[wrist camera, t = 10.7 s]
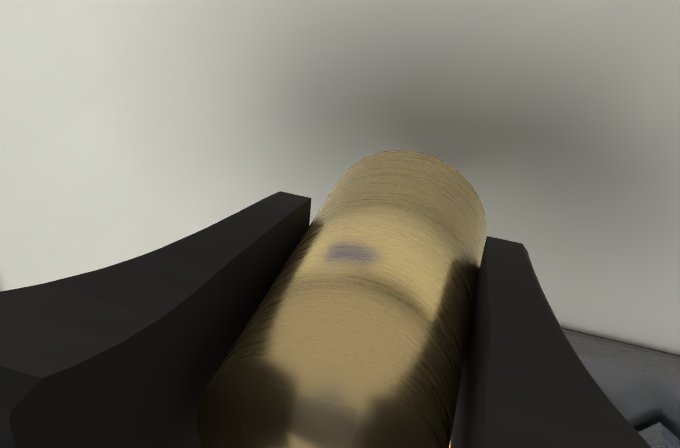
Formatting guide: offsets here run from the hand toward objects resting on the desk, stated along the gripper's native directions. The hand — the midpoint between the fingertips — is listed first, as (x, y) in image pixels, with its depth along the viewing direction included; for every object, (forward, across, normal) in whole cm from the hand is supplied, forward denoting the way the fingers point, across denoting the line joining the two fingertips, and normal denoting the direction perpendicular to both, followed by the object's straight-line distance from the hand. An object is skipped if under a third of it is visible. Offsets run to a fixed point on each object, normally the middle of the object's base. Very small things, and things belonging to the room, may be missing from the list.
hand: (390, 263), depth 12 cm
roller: (+2, 0, 0) cm, 2 cm away
